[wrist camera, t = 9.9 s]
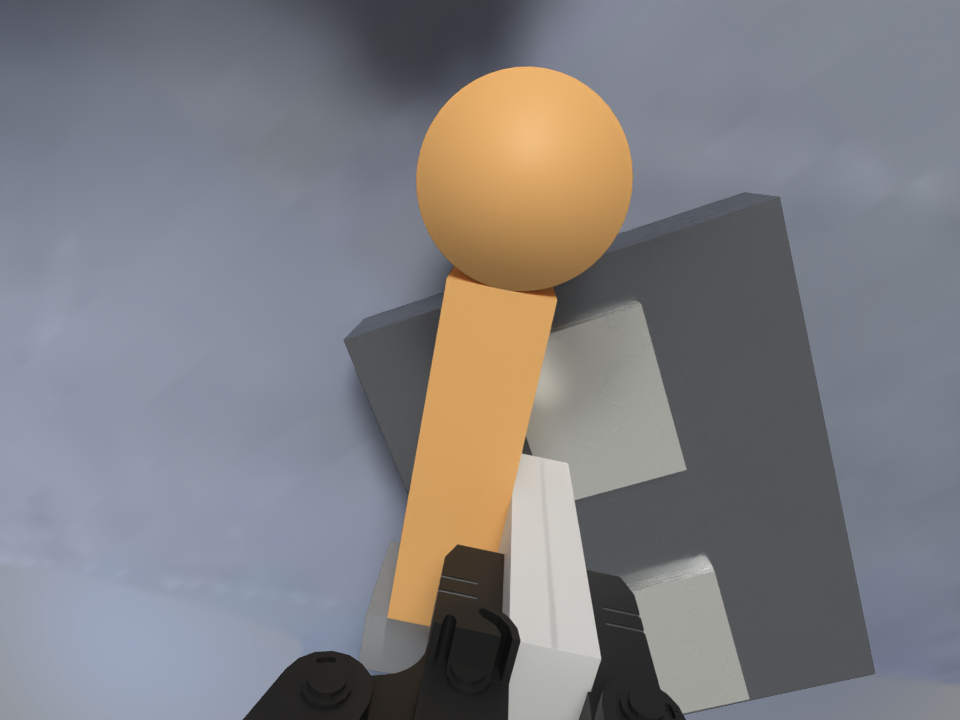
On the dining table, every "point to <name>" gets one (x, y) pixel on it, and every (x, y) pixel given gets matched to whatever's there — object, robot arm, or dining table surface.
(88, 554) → the dining table surface
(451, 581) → the robot arm
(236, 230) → the dining table surface
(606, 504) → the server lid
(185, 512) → the dining table surface
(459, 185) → the swing arm
